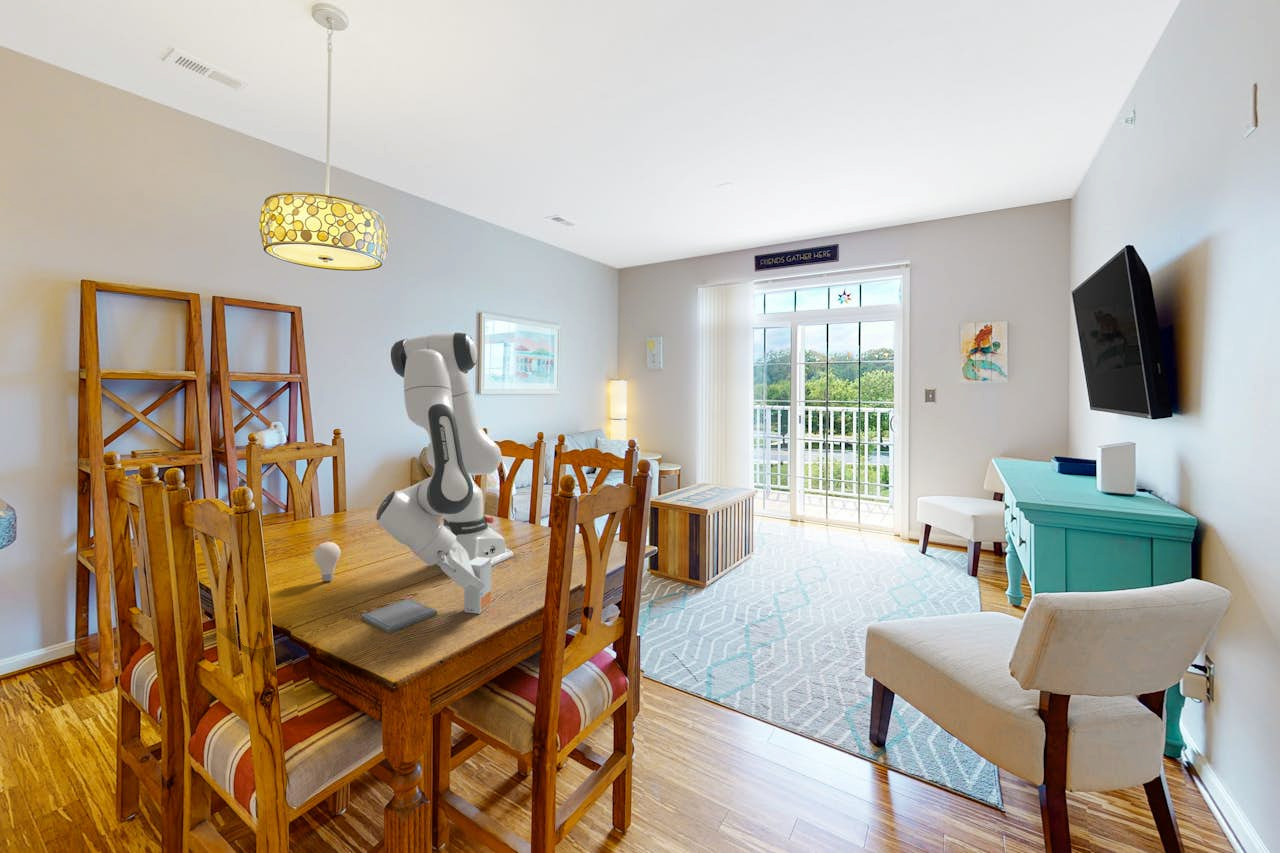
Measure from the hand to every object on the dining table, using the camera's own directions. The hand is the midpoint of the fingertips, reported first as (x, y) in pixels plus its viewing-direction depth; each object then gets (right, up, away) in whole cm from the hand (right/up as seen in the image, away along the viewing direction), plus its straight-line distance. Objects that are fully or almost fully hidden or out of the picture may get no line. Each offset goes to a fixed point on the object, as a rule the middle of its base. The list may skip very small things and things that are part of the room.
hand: (480, 580), depth 129 cm
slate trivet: (-18, -7, -5) cm, 20 cm away
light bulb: (-47, -5, +16) cm, 50 cm away
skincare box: (-1, -7, 0) cm, 7 cm away
